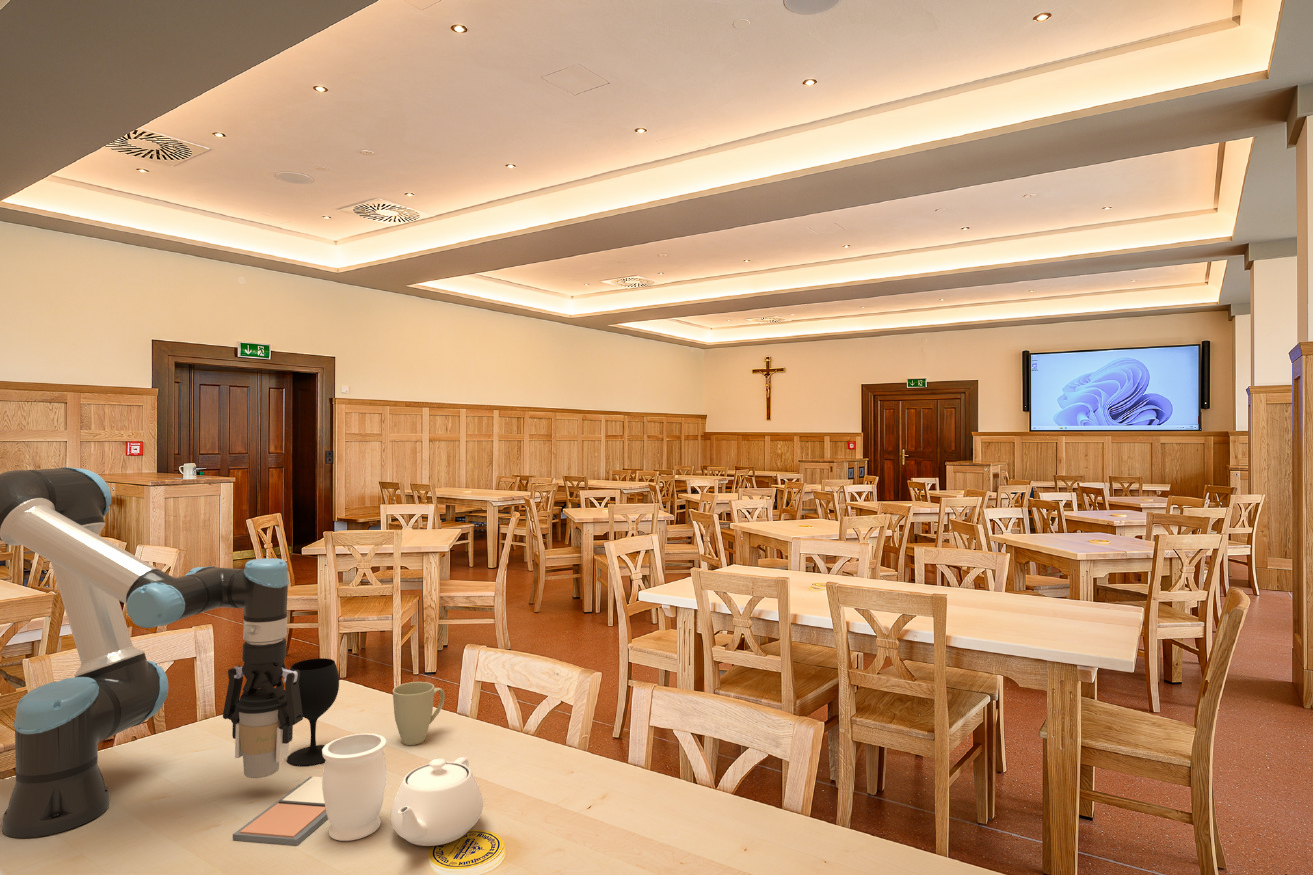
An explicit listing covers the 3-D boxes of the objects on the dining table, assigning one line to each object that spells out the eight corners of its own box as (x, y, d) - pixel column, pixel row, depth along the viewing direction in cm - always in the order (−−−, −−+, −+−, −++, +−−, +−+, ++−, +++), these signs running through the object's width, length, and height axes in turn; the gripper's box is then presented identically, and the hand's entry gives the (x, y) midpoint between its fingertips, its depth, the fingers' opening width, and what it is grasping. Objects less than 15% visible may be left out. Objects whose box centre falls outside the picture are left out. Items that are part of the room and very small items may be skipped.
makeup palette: (232, 839, 128) (232, 831, 128) (310, 781, 150) (310, 773, 150) (297, 845, 126) (297, 836, 126) (365, 785, 148) (365, 777, 148)
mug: (431, 749, 166) (431, 694, 166) (386, 748, 166) (386, 694, 166) (445, 729, 176) (445, 678, 176) (403, 729, 177) (403, 678, 177)
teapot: (427, 795, 144) (427, 732, 144) (504, 801, 142) (504, 737, 142) (354, 869, 120) (354, 792, 120) (445, 878, 117) (445, 800, 117)
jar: (346, 852, 124) (346, 762, 124) (309, 834, 130) (309, 748, 130) (399, 823, 134) (399, 740, 133) (362, 808, 139) (362, 728, 139)
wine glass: (349, 753, 163) (349, 661, 163) (304, 771, 155) (304, 674, 155) (320, 742, 169) (320, 654, 169) (276, 759, 160) (276, 666, 160)
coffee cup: (265, 785, 139) (267, 705, 139) (221, 779, 141) (223, 700, 141) (299, 763, 149) (301, 688, 149) (257, 758, 150) (259, 683, 150)
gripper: (202, 641, 143) (199, 760, 143) (302, 648, 140) (299, 770, 140) (230, 631, 150) (227, 744, 150) (325, 638, 147) (322, 753, 147)
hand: (261, 756), depth 145 cm, fingers closed on coffee cup, 8 cm apart
